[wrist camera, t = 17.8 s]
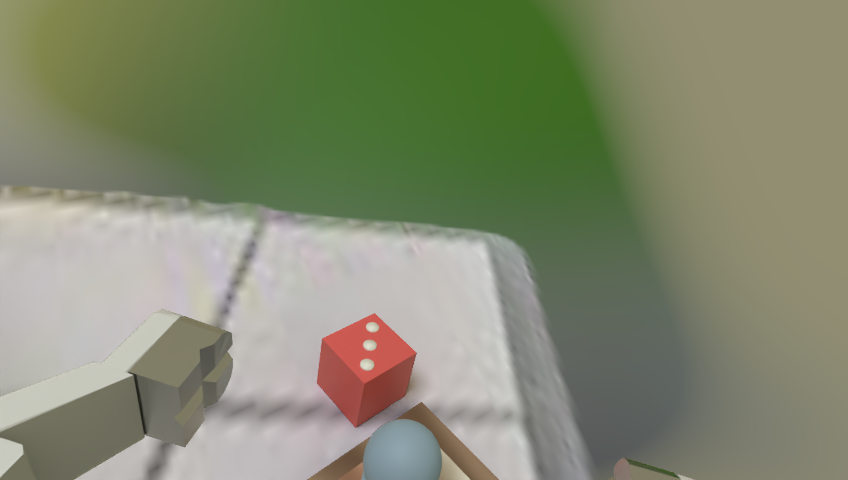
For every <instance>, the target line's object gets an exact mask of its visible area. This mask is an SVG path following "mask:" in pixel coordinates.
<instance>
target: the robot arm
mask: <svg viewBox="0 0 848 480" xmlns="http://www.w3.org/2000/svg"><path fill="white" fill-rule="evenodd" d="M231 346H232V333H230V332H228V331H225V330H222V329H220V328H217V327H214V326H211V325H208V324H205V323H202V322H200V321H197V320H194V319H191V318H188V317H185V316H182V315H179V314H176V313H173V312H170V311H167V310H164V309H161V310H159V311H156V312H154V313H153V314H152V315H151V316H150V317H149V318H148V319H147V320H146V321H145V322H144V323H143V324H142V325H140V326H139V327H138V328H137V329H136V330H135V331H134V332H133V333H132V334H131V335H130V336H129V337H128V338H127V339H126V340H125V341H124V342H123V343H122V344H121V345H120V346H119V347H118V348H117V349H116V350H115V351H114V352H113V353H112V354H111V355H110V356H109V357H108V358H106V359H105V360H104V361H103V362H102V363H101V364H100V363H97V362H92V363H89V364H87V365H84V366H81V367H79V368H76V369H73V370H71V371H68V372H65V373H63V374H60V375H57V376H55V377H52V378H49V379H47V380H44V381H41V382H39V383H36V384H33V385H30V386H28V387H25V388H22V389H20V390H17V391H14V392H12V393H9V394H6V395H4V396H1V397H0V480H74V479H76V478H77V477H79V476H81V475H82V474H84V473H86V472H87V471H89V470H91V469H92V468H94V467H96V466H98V465H99V464H101V463H103V462H104V461H106V460H108V459H109V458H111V457H113V456H114V455H116V454H118V453H119V452H121V451H123V450H125V449H126V448H128V447H130V446H131V445H133V444H135V443H136V442H138V441H140V440H141V439H143V438H144V437H145V436H144V435H146V436H150V437H153V438H156V439H159V440H162V441H166V442H169V443H172V444H175V445H179V446H182V447H186V445H187V444H188V442H189V441H190V440H191V438H192V437H193V435H194V434H195V433H196V431H197V430H198V428H199V427H200V426H201V424H202V423H203V421H204V408H207V407H209V406H211V405H213V404H215V403H217V402H218V400H219V399H220V397H221V396H222V394H223V393H224V391H225V389H226V387H227V385H228V382H229V380H230V378H231V374H232V369H233V359H232V357H231V356H230V355H229V353H228V352H227V351H228V350H229V348H230V347H231ZM614 473H615V477H613V478H610V479H607V480H694V479H690V478H687V477H684V476H681V475H678V474H675V473H673V472H670V471H667V470H664V469H660V468H657V467H654V466H651V465H647V464H644V463H641V462H637V461H634V460H631V459H628V458H623V459H620V460H619V461H618V463H617V464H616V465H615V467H614Z"/></svg>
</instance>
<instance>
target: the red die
mask: <svg viewBox="0 0 848 480" xmlns="http://www.w3.org/2000/svg"><path fill="white" fill-rule="evenodd" d="M416 354H417V353H416V352H415V351H414V350H413V349H412V348H411V347H410V346H409V345H408V344H407V343H406V342H404V341H403V340H402V339H401V338H400V337H399V336H398V335H397V334H396V333H395V332H394V331H393V330H392V329H391V328H390V327H389V326H387V325H386V324H385V323H384V322H383V321H382V320H381V319H380V318H379V317H378V316H377V315H376V314H375V313H374V314H372V315H370V316H368V317H366V318H364V319H362V320H360V321H358V322H355V323H353V324H351V325H349V326H347V327H345V328H343V329H341V330H339V331H337V332H335V333H333V334H331V335H329V336H327V337H325V338H323V339H322V345H321V353H320V362H319V370H318V378H317V384H318V385H319V386H320V387H321V388H322V389H323V390H324V392H325V393H326V394H327V395H328V396H329V397H330V399H331V400H332V401H333V402H334V403H335V404H336V405H337V407H338V408H339V409H340V410H341V411H342V412H343V414H344V415H345V416H346V417H347V418H348V419H349V421H350V422H351V423H352V424H353V425H354V426H355V427H358V426H359V425H361V424H362V423H364V422H365V421H367V420H368V419H370V418H371V417H373V416H375V415H376V414H378V413H379V412H381V411H382V410H384V409H385V408H387V407H388V406H390V405H391V404H393V403H395V402H396V401H398V400H399V399H401V398H402V397H404V396H405V394H406V391H407V387H408V383H409V380H410V376H411V372H412V368H413V365H414V361H415V357H416Z"/></svg>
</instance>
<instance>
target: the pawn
mask: <svg viewBox="0 0 848 480" xmlns="http://www.w3.org/2000/svg"><path fill="white" fill-rule="evenodd" d="M441 469H442V454H441V449H440V446H439V443H438V441H437V439H436V438H435V436H434V435H433V433H432V432H431V431H430V430H429V429H428V428H427V427H425V426H424V425H422V424H421V423H419V422H416V421H413V420H409V419H398V420H393V421H390V422H388V423H386V424H384V425H382V426H381V427H380V428H378V429H377V430H376V431H375V432H374V433H373V435H372V436H371V437H370V439H369V441H368V443H367V445H366V448H365V451H364V456H363V470H364V471H363V475H362V480H439V477H440V474H441Z"/></svg>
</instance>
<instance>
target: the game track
mask: <svg viewBox="0 0 848 480" xmlns="http://www.w3.org/2000/svg"><path fill="white" fill-rule="evenodd" d="M398 419H409V420H413V421H416V422H419V423H421V424H422V425H424V426H425V427H427V428H428V429H429V430H430V431H431V432H432V433H433V435H434V436H435V438H436V439H437V441H438V443H439V446H440V449H441V454H442V469H441V474H440V477H439V480H499V479H498V478H497V477H496V476H495V475H494V474H493V473H492V472H491V471H490V470H489V469H488V468H487V467H486V466H485V465H484V464H483V463H482V462H481V461H480V460H479V459H478V458H477V457H476V456H475V455H474V454H473V453H472V452H471V451H470V450H469V449H468V448H467V447H466V446H465V445H464V444H463V443H462V442H461V441H460V440H459V439H458V438H457V437H456V436H455V435H454V434H453V433H452V432H451V431H450V430H449V429H448V428H447V427H446V426H445V425H444V424H443V423H442V422H441V421H440V420H439V419H438V418H437V417H436V416H435V415H434V414H433V413H432V412H431V411H430V410H429V409H428V408H427V407H426V406H425V405H424V404H423V403H422V402H421V403H419V404H418V405H416V406H415V407H413V408H412V409H410V410H409V411H407V412H406V413H405V414H403V415H402V416H400V417H399V418H397V419H396V420H398ZM369 439H370V437H369V438H368V439H366V440H365V441H363V442H362V443H360V444H359V445H358V446H356V447H355V448H353V449H352V450H350V451H349V452H347V453H346V454H344V455H343V456H341V457H340V458H338V459H337V460H335V461H334V462H333V463H331V464H330V465H328V466H327V467H325V468H324V469H322V470H321V471H319V472H318V473H316V474H315V475H313V476H312V477H310V478H309V479H308V480H362V475H363V471H364V470H363V456H364V451H365V448H366V445H367V443H368V441H369Z"/></svg>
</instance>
